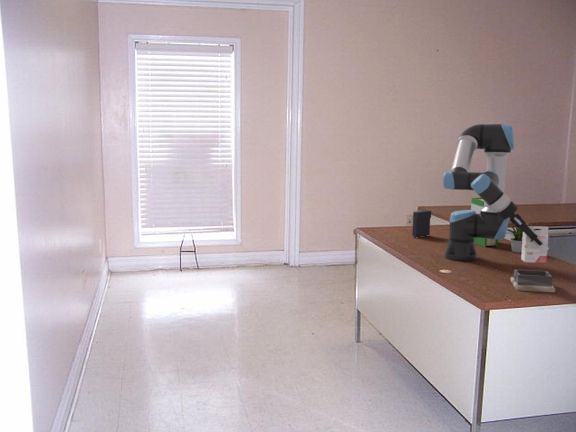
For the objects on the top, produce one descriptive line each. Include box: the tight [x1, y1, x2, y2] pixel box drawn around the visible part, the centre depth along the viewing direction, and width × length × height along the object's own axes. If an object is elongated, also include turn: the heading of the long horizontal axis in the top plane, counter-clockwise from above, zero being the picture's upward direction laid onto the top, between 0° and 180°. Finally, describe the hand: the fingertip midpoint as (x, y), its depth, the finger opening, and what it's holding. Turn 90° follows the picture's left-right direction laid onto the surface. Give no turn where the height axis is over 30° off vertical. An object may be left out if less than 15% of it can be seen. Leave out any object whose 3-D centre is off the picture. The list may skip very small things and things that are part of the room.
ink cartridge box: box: [520, 225, 549, 264], centre depth 216 cm, size 9×5×15 cm, turn 82°
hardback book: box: [470, 197, 499, 248], centre depth 294 cm, size 18×7×24 cm, turn 8°
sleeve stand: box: [510, 268, 556, 293], centre depth 219 cm, size 14×14×6 cm
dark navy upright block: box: [411, 209, 432, 238], centre depth 313 cm, size 11×4×15 cm, turn 122°
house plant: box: [506, 221, 531, 254], centre depth 277 cm, size 14×14×16 cm
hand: (544, 248), depth 216 cm, fingers closed on ink cartridge box, 5 cm apart
